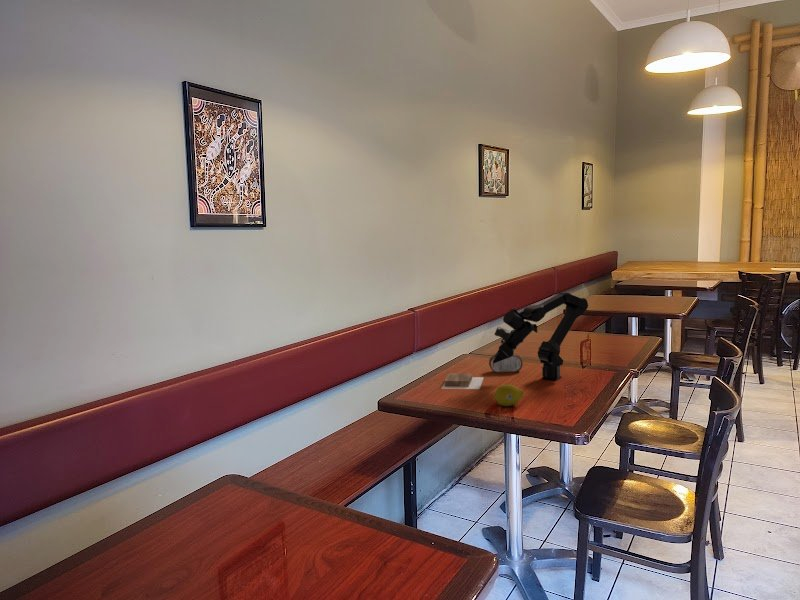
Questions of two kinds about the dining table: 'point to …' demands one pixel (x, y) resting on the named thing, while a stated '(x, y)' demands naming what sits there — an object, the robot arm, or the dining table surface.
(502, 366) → the tin
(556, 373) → the robot arm
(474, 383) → the mat
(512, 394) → the lemon
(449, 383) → the board
